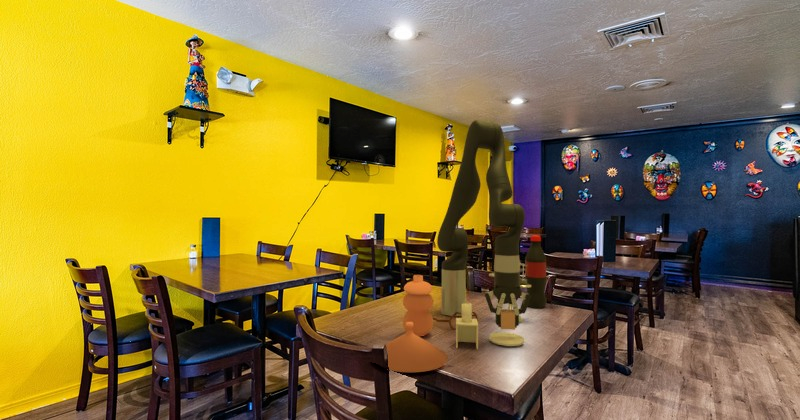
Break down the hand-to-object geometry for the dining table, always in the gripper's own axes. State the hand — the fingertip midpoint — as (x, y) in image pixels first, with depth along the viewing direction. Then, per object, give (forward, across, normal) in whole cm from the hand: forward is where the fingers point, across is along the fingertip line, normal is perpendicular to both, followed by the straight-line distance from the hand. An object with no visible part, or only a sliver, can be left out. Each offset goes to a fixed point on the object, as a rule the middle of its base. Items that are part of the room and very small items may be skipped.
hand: (507, 326), depth 114 cm
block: (0, 0, 0) cm, 0 cm away
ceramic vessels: (+5, -28, -8) cm, 29 cm away
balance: (+5, +4, +25) cm, 26 cm away
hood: (+5, -12, -4) cm, 14 cm away
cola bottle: (+5, +18, +47) cm, 51 cm away
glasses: (+5, -17, +18) cm, 25 cm away
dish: (+5, 0, 0) cm, 5 cm away
